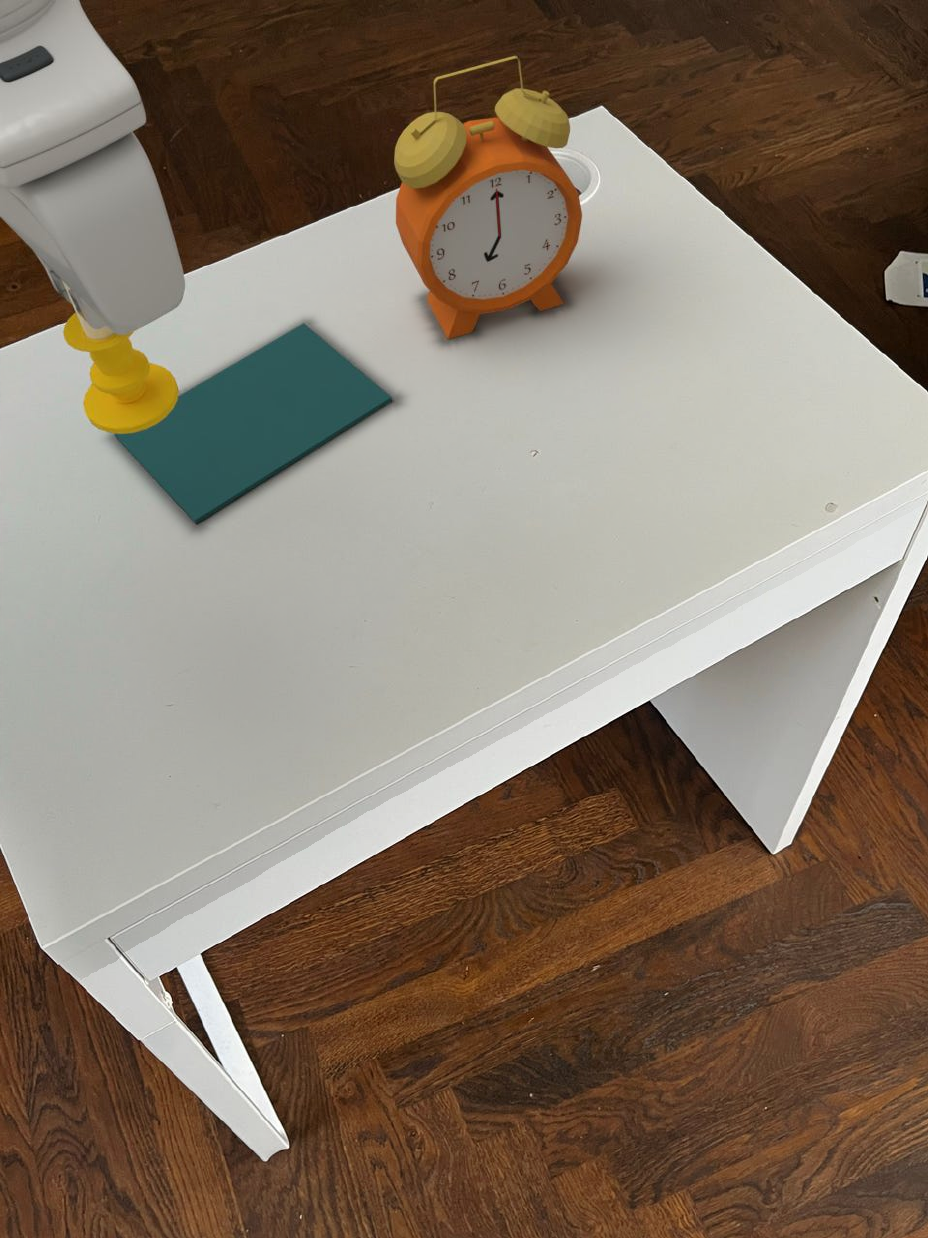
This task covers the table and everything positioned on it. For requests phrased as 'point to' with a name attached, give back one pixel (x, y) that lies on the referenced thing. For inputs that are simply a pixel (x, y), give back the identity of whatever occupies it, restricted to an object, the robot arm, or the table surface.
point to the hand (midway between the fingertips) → (90, 305)
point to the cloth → (253, 421)
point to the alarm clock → (487, 206)
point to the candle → (120, 380)
